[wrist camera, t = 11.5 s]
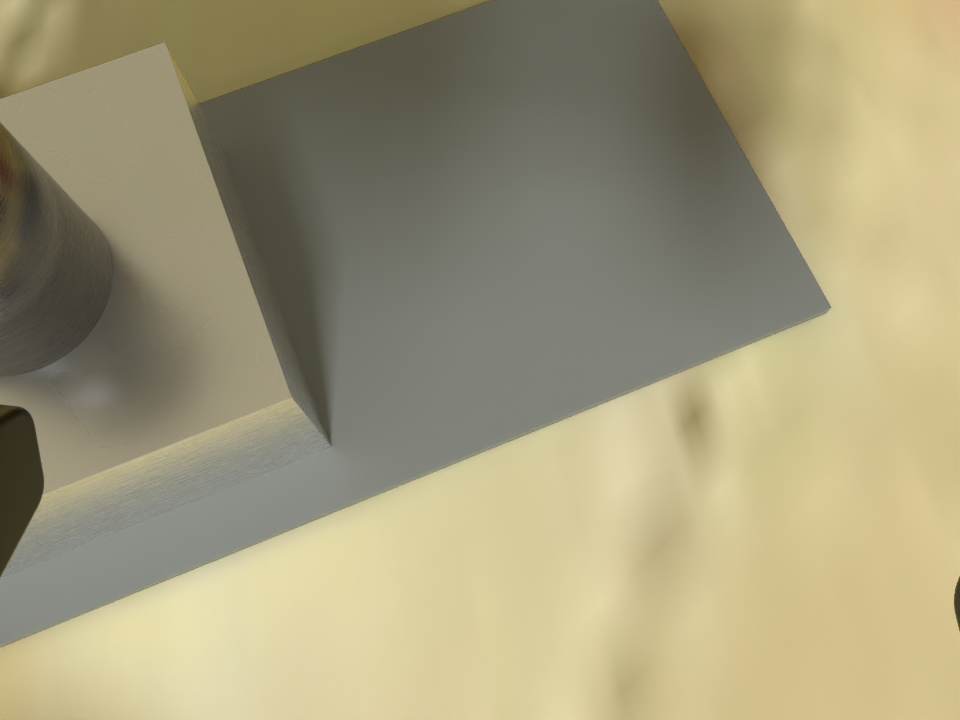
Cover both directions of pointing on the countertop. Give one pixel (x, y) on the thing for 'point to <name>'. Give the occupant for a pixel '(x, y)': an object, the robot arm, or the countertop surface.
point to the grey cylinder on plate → (136, 307)
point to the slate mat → (468, 260)
